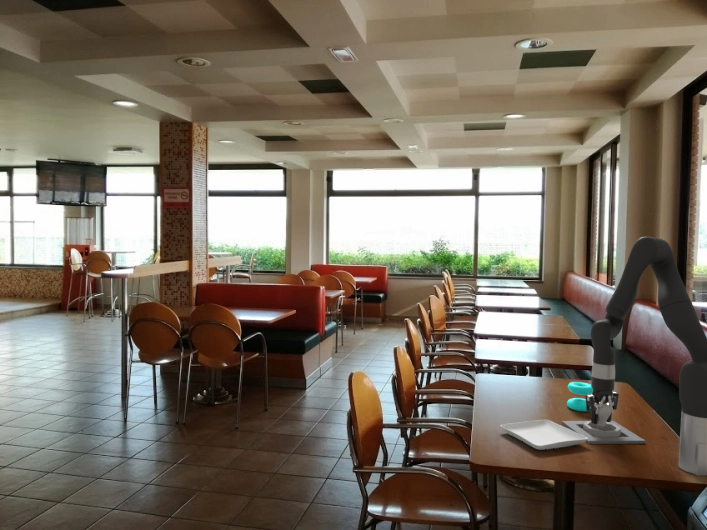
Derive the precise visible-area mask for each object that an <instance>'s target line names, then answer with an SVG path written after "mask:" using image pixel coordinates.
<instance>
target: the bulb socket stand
mask: <svg viewBox="0 0 707 530" xmlns="http://www.w3.org/2000/svg"><path fill="white" fill-rule="evenodd" d="M561 424H562V426H563V427H565V428H568V429H570V430H572V431H574V432H576V433H579V434H581V435H583V436H585V437H587V438H588V440H587V441H585V442H586V443H587V444H588V445H600V444H601V445H605V444H607V445H611V444H612V445H614V444H619V445H620V444H621V445H622V444H624V445H625V444H627V445H628V444H631V445H632V444H635V445H636V444H646V440H645V439H644V438H642V437H640V436H639V435H637V434H635V433H634V432H632V431H631V430H629V429H627V428H626V427H624V426H623V425H621V424H620V423H618V422H617V421H615V420H611V422H606V426H605V431H603V430H598V429H597V424H593V423H592V422H591V420H561ZM585 442H584V443H585Z"/></svg>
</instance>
